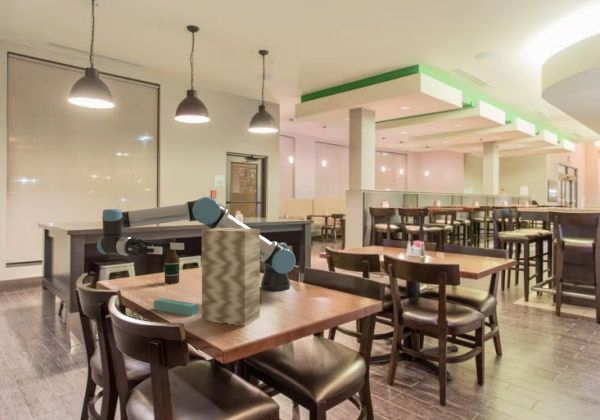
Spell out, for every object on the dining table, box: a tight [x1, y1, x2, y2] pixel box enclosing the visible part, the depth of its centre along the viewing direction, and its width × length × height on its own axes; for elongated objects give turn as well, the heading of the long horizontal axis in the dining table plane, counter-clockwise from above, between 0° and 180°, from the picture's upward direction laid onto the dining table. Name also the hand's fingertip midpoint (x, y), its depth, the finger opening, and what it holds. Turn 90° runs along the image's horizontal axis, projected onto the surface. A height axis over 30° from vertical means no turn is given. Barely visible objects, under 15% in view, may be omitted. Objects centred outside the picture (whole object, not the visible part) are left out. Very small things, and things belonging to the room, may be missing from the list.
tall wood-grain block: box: [201, 228, 261, 327], centre depth 146 cm, size 18×12×34 cm, turn 70°
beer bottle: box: [164, 237, 180, 285], centre depth 209 cm, size 8×8×24 cm
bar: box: [153, 297, 199, 317], centre depth 156 cm, size 20×4×4 cm, turn 64°
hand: (173, 248), depth 155 cm, fingers open, 13 cm apart
